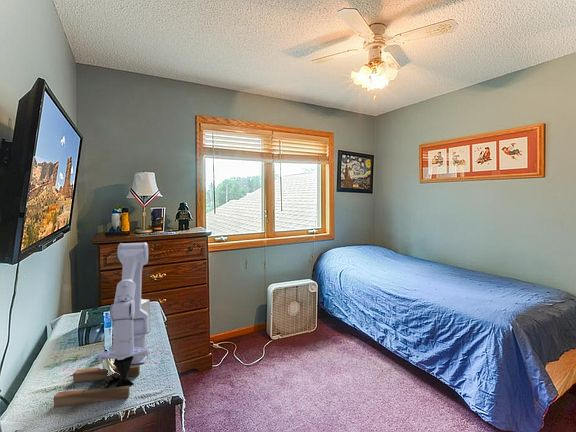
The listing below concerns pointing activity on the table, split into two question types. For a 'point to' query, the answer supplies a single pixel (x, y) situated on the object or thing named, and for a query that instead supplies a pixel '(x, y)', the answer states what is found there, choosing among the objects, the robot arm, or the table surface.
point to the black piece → (116, 381)
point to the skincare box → (145, 309)
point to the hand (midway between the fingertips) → (125, 378)
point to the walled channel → (94, 395)
